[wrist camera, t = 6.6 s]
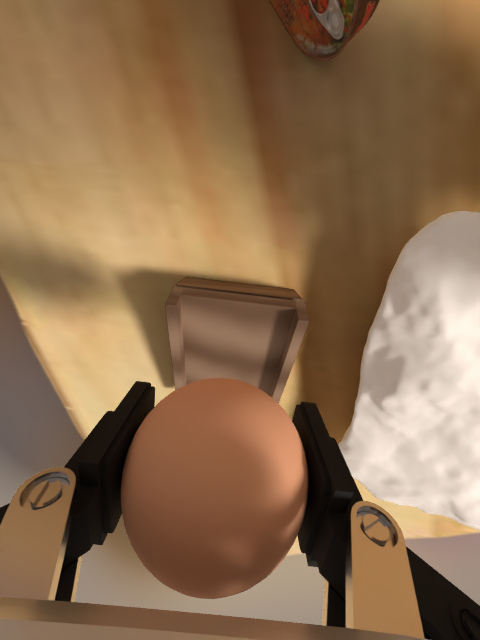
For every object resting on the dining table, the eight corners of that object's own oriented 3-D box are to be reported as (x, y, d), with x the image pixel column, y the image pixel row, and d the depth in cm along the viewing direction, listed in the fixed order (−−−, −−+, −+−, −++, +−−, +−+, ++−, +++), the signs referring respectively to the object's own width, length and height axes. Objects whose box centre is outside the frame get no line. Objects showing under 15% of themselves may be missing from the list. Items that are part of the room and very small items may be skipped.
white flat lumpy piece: (362, 524, 33) (417, 621, 25) (254, 290, 23) (283, 315, 14) (521, 446, 33) (632, 516, 25) (484, 176, 23) (652, 131, 14)
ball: (160, 341, 10) (60, 470, 5) (303, 359, 11) (373, 505, 5) (155, 452, 12) (81, 640, 7) (276, 466, 13) (305, 660, 7)
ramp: (186, 276, 25) (165, 292, 18) (293, 289, 25) (311, 309, 18) (181, 388, 29) (162, 435, 22) (273, 398, 29) (281, 448, 22)
